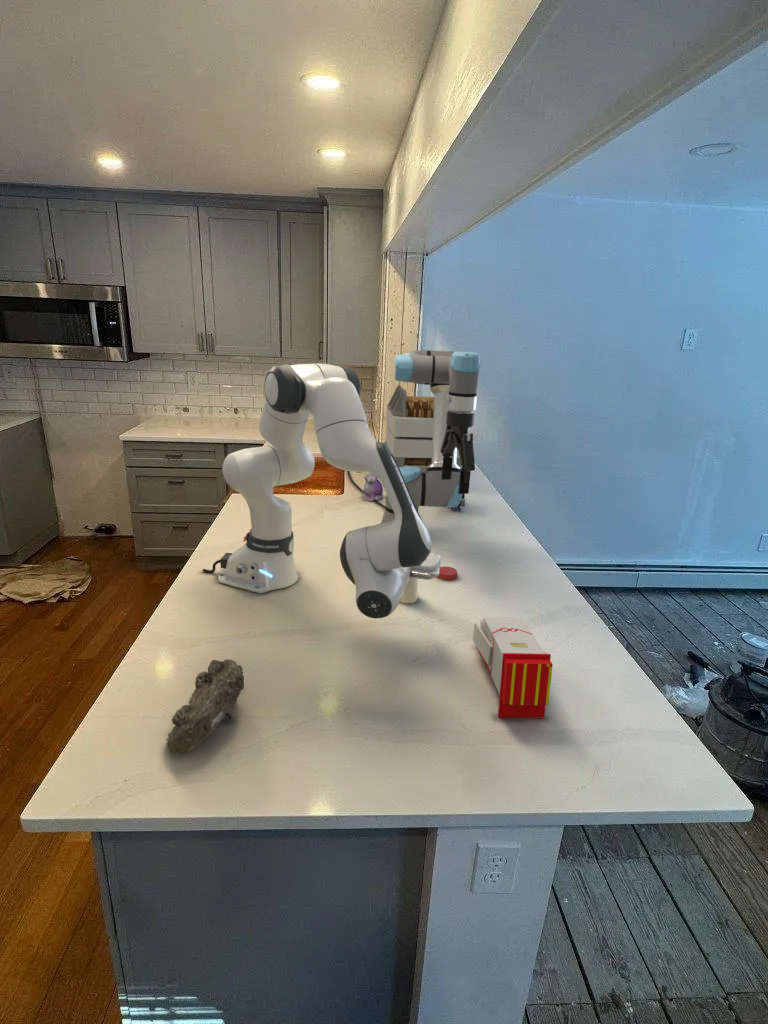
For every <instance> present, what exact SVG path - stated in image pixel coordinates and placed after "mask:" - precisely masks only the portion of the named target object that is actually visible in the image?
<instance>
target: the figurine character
mask: <svg viewBox="0 0 768 1024" xmlns="http://www.w3.org/2000/svg"><path fill="white" fill-rule="evenodd" d="M465 496H466V494H463V495H462V499H461V502H460V504H459V505H458V506H457V507H450V509H451V511H454V509H458V511H461V510H462V509H461V508H465V505H466V497H465Z"/></svg>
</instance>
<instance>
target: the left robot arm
mask: <svg viewBox="0 0 768 1024" xmlns="http://www.w3.org/2000/svg"><path fill="white" fill-rule="evenodd" d="M361 391H362V389H361V381H360V377H359V376H358V374H357V372H356V371H355V370H354V368H351V367H349V366H345V365H342V364H328V363H316V362H312V363H297V364H289V363H283V364H278V365H275V366H272V367H271V368H270V369H269V370H268V372H267V374H266V376H265V378H264V395H265V396H264V397H265V402H264V405H263V409H262V413H261V416H260V420H259V425H258V426H259V427H258V428H259V433H260V435H261V437H262V438H263V439H264V441H266V442H267V443H268V445H263V446H256V447H248V448H243V449H240V450H236V451H233V452H231V453H228V454H227V455H226V457H225V458H224V459H223V463H222V468H221V470H222V476H223V478H224V481H225V483H226V484H227V485H228V487H230V488H231V489H232V490H233V491H236V492H237V493H238V494H240V495H241V496H242V497H243V499H244V500H245V502H246V503H247V507H248V510H249V514H250V515H249V516H250V525H251V527H250V530H249V531H248V532H247V533H246V535H245V536H244V537H243V538H242V539H243V542H246V543H245V544H243V545H241V546H240V547H239V548H237V549H236V550H234V551H233V552H225V553H224V554H223V555H222V556H221V558H220V559H217V560H215V561H214V562H213V563H212V568H211V569H207V568H202V572H203V573H208V574H213V573H214V572H216V566H217V565H218V564H220V569H222V570H220V572H219V573H218V577H217V578H218V579H217V581H218V583H221V584H223V585H228V586H232V587H235V588H240V589H243V590H245V591H246V590H247V591H249V592H255V593H257V594H264V593H267V592H270V591H275V590H281V589H285V588H288V587H291V586H293V585H294V584H296V582H298V580H299V574H298V571H297V568H296V564H295V558H294V557H295V556H294V551H295V549H294V548H295V539H294V531H293V527H292V526H293V523H292V522H293V521H292V520H293V518H292V517H293V516H292V511H293V509H292V507H291V506H290V504H289V502H288V501H286V500H285V499H284V498H282V497H278V496H276V495H274V487H279V486H285V485H291V484H295V483H298V482H301V481H303V480H305V479H307V478H308V479H309V478H310V477H311V476H312V474H313V473H314V470H315V465H316V459H315V455H314V453H313V451H312V450H311V449H310V448H309V447H308V445H306V444H305V443H304V441H303V438H304V434H305V430H306V426H307V423H308V420H309V416H310V415H312V417H313V418H312V419H313V424H314V430H315V435H316V440H317V444H318V448H319V450H320V453H321V456H322V458H323V459H324V460H325V461H326V462H327V463H328V464H329V465H330V466H332V467H333V468H336V469H338V470H342V471H346V472H347V471H349V472H353V473H363V474H365V473H369V474H373V475H375V476H376V477H378V480H379V481H380V483H381V484H382V487H383V490H384V491H385V495H386V494H387V497H388V499H389V501H390V504H391V506H392V509H393V511H394V514H395V518H394V520H392V521H389V522H385V523H381V522H380V523H381V524H380V523H377V524H374V525H367V526H364V527H360V528H357V529H353V530H349V531H348V532H347V533H346V534H345V536H344V537H343V539H342V541H341V546H340V549H339V560H340V564H341V567H342V570H343V572H344V573H345V575H346V577H347V578H348V579H349V581H350V582H351V583H352V584H353V585H354V586H355V605H356V608H357V609H358V611H359V612H360V613H361V614H362V615H364V616H366V617H367V618H371V619H383V618H387V617H388V616H390V615H392V614H393V612H394V611H395V610H396V609H397V608H398V606H399V604H400V603H401V602H400V600H401V598H402V596H403V593H404V589H405V588H406V586H407V584H408V581H409V579H410V577H411V578H418V580H425V581H426V580H429V581H430V580H433V579H435V578H438V575H439V570H440V567H441V565H442V557H441V556H440V555H439V554H438V553H431V552H432V550H433V549H432V548H433V545H432V539H431V535H430V532H429V530H428V528H427V527H426V525H425V522H424V521H423V519H422V517H421V515H420V512H419V510H418V511H417V509H416V506H415V504H414V502H413V499H412V497H411V494H410V492H409V490H408V487H407V485H406V483H405V480H404V478H403V476H402V473H401V471H400V469H399V467H398V464H397V462H396V460H395V458H394V456H393V454H392V452H391V451H390V449H389V448H388V447H387V446H386V444H384V442H381V441H378V440H377V439H376V438H375V437H374V435H373V434H372V432H371V430H370V428H369V424H368V420H367V415H366V411H365V409H364V406H363V403H362V400H361Z"/></svg>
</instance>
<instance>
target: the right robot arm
mask: <svg viewBox="0 0 768 1024" xmlns="http://www.w3.org/2000/svg"><path fill="white" fill-rule="evenodd" d="M394 361H395V363H394V380H395V381H396V382H402V383H412V384H418V385H426V386H430V387H429V389H430V392H431V393H432V394H433V397H434V417H433V441H432V462H431V464H430V465H428V466H426V472H422V469H421V468H420V467H419V466H407V465H404V467H399V469H400V471H401V473H402V476H403V478H404V480H405V483H406V485H407V487H408V490H409V492H410V494H411V497H412V499H413V502H414V504H415V506H416V509H417V511H418V512H419V507H433V508H434V507H435V508H451V507H457V506H458V505H459V504H460V502H461V499H462V495H463V494H465V495H466V494H469V492H470V484H471V483H470V481H471V472H472V471H475V470H476V463H475V452H474V434H473V432H472V433H471V432H470V433H469V428H472V427H473V426H474V425H475V417H476V416H475V415H476V414H475V411H476V408H477V399H478V396H477V393H478V384H479V383H478V382H479V375H480V373H479V372H480V369H481V364H480V363H481V355H480V354H479V353H478V352H473V351H454V350H447V351H446V350H428V349H427V350H426V349H420V350H419V349H418V350H413V351H409V352H405V353H404V354H397V355H396V356H395V360H394ZM457 449H458V451H459V456H460V461H461V468H460V467H459V466H458V465H457V464H456V460H457ZM346 472H347V475H348V477H349V479H350V481H351V483H352V484H353V485H354V486H355V488H357V489H358V490H359V491H360V492H362V494H364V489H362V488H361V487H359V485H357V483H356V482H355V481H354V480H353V478H352V476H351V473H350V471H346ZM373 501H374V502H375V503H377V504H378V505H379V506H380V507H382V508H384V513H383V515H382V519H381V522H379V524H381V523H385V522H389V521H392V520H394V518H395V514H394V511H393V509H392V506H391V504H390V501H389V499H388V497H387V494H386V493H385V504H383V503H381V502H380V501H378V500H375V499H374V500H373Z"/></svg>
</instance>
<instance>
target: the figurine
mask: <svg viewBox="0 0 768 1024" xmlns="http://www.w3.org/2000/svg"><path fill="white" fill-rule="evenodd" d="M363 476H364V480H365V483H364V485H363V491H364V493H363V495H362V498H363V500H364V501H368V502H373V501H374V499H375V500H377V501H378V500H381V499H382V498H383V493H384V487H383V485H382V482H381V481H380V479H379V478H378V477H376V476H375V475H373V474H369V473H364V475H363Z"/></svg>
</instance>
